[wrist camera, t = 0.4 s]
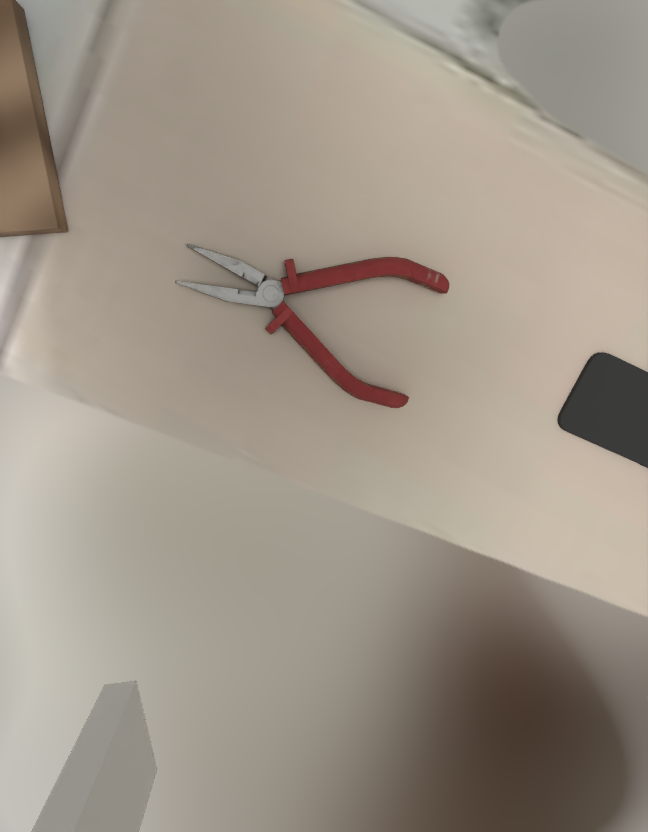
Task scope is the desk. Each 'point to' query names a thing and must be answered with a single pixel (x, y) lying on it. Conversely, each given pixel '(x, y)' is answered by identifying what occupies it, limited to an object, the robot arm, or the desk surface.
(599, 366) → the phone
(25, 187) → the bobbin stand
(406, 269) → the pliers
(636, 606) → the desk surface
